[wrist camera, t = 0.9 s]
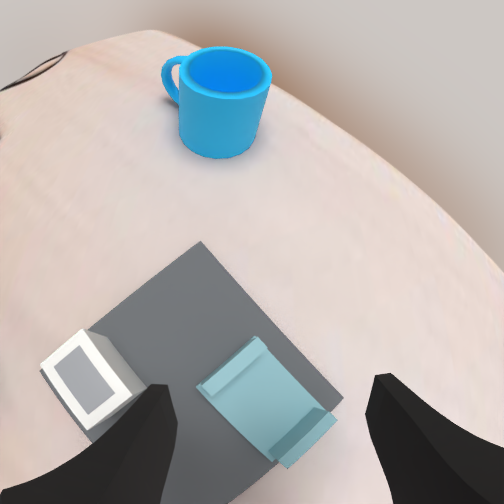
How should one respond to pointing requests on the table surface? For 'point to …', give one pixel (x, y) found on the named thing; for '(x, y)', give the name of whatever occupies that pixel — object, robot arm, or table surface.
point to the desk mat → (199, 370)
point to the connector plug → (92, 377)
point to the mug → (218, 99)
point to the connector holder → (266, 403)
